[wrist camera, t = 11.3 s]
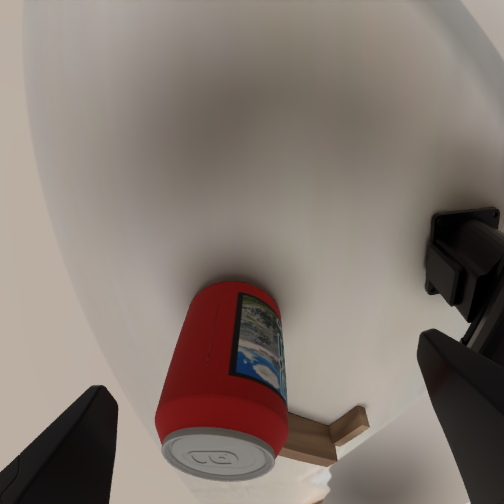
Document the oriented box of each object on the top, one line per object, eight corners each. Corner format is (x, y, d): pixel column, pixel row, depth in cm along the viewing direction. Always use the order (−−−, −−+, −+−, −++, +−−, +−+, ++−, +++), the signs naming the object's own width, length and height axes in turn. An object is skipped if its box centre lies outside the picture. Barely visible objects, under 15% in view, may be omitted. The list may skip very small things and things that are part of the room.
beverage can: (286, 342, 24) (295, 482, 13) (203, 351, 25) (176, 484, 14) (273, 268, 21) (282, 420, 11) (178, 281, 22) (122, 422, 11)
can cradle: (266, 367, 25) (267, 409, 21) (364, 408, 28) (373, 443, 24) (231, 400, 28) (227, 439, 24) (327, 434, 30) (332, 467, 26)
